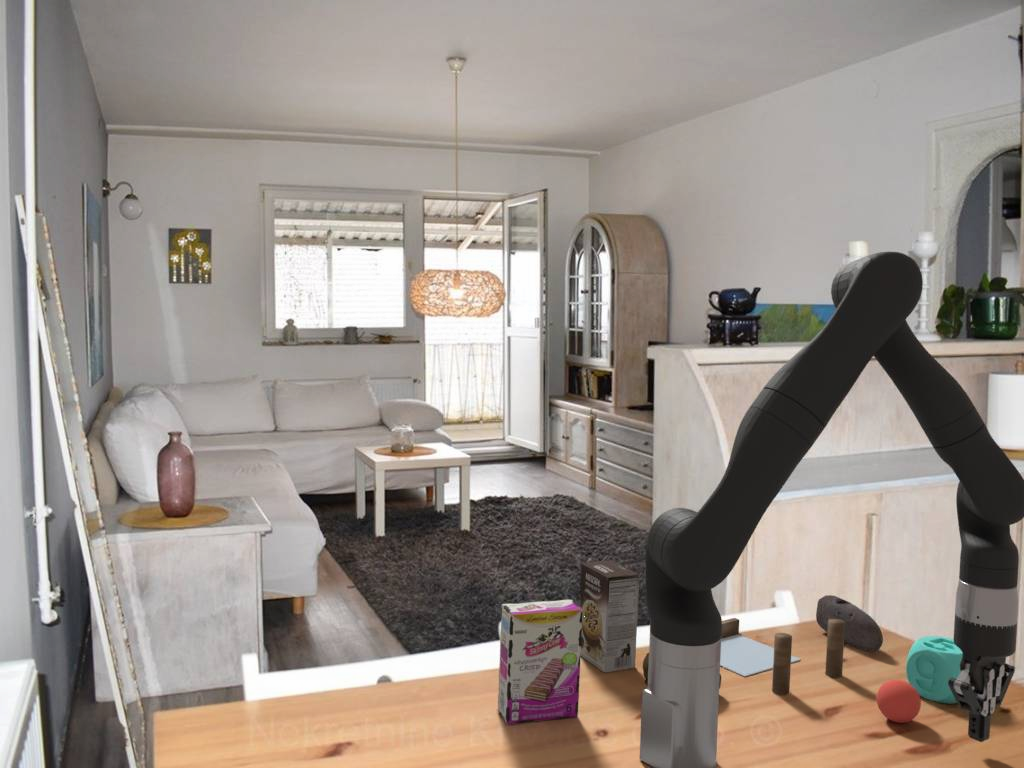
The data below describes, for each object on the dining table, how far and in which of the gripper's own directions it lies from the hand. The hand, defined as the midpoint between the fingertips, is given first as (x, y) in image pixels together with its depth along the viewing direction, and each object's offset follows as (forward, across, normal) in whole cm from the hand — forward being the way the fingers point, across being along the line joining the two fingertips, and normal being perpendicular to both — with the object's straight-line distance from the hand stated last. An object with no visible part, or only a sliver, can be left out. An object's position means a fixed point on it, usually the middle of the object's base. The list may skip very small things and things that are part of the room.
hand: (978, 738), depth 127 cm
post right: (+2, +6, +28) cm, 29 cm away
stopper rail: (+2, 0, +50) cm, 51 cm away
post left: (+2, -7, +28) cm, 29 cm away
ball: (-1, 0, +12) cm, 12 cm away
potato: (+2, -22, +34) cm, 41 cm away
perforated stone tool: (+2, +22, +36) cm, 42 cm away
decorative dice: (+2, +15, +14) cm, 21 cm away
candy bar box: (+2, -44, +41) cm, 60 cm away
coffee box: (+2, -22, +52) cm, 57 cm away
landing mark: (+2, 0, +42) cm, 42 cm away
